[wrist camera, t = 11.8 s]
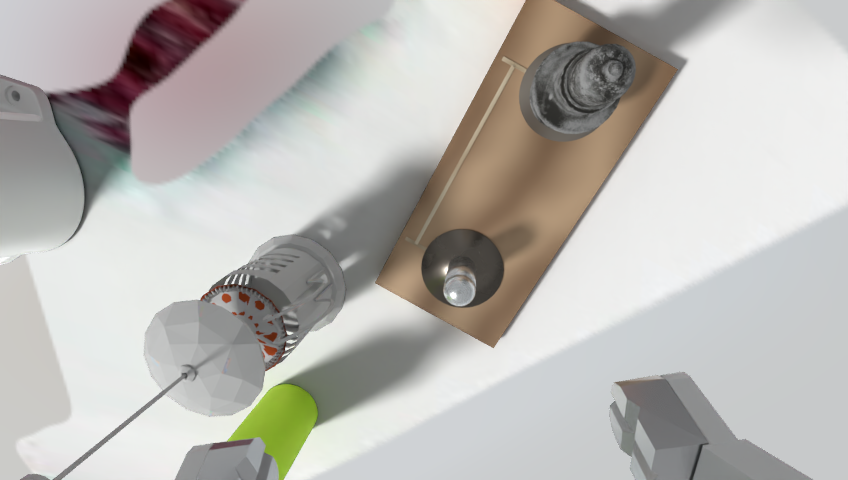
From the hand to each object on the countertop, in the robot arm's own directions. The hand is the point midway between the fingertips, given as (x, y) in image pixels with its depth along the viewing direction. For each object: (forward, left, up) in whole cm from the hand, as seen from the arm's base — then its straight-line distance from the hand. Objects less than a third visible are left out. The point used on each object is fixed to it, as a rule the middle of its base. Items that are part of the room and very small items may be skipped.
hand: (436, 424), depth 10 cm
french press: (-10, -13, -27) cm, 32 cm away
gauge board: (+2, +4, -27) cm, 27 cm away
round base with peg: (+2, -4, -26) cm, 26 cm away
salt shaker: (+2, +12, -26) cm, 29 cm away
